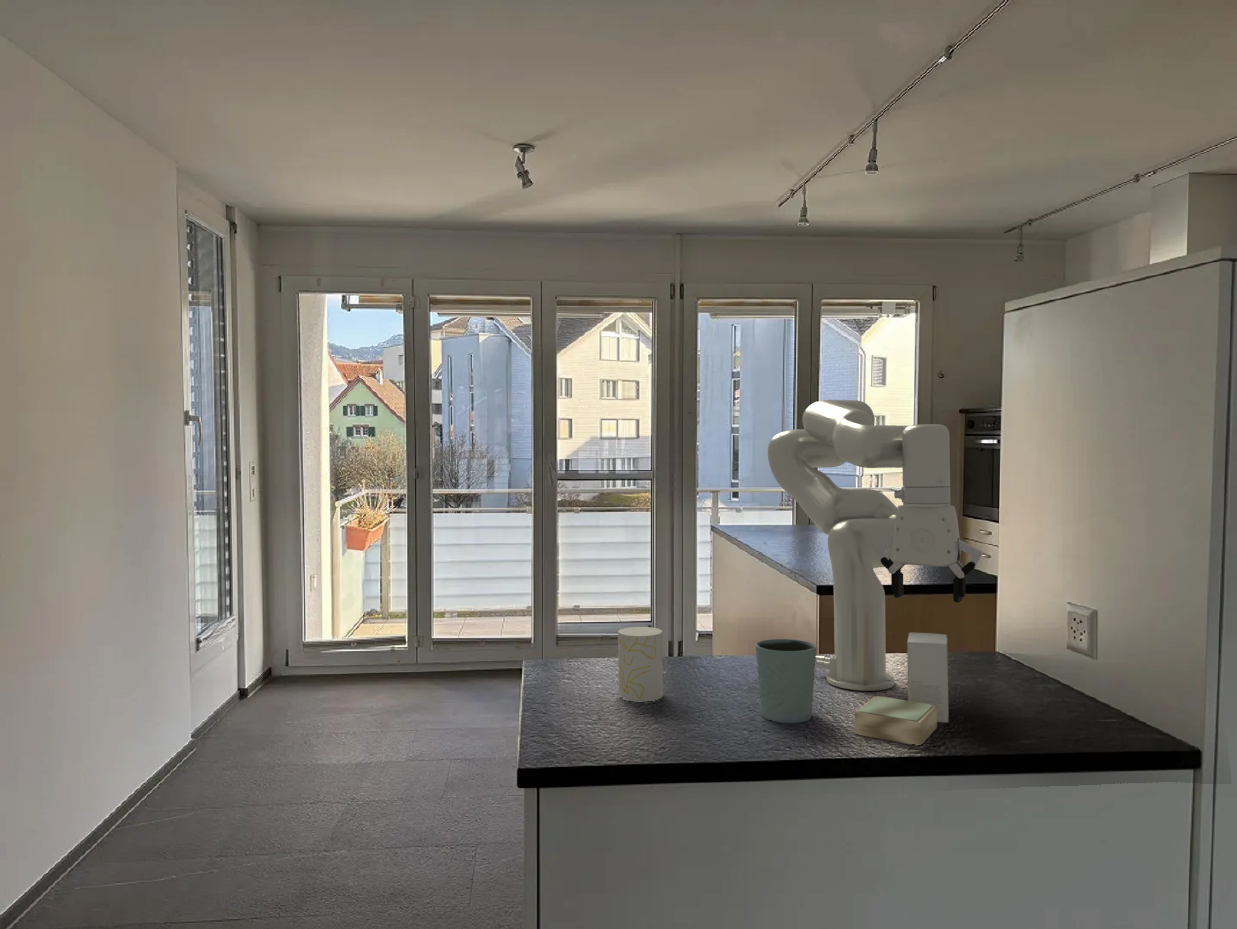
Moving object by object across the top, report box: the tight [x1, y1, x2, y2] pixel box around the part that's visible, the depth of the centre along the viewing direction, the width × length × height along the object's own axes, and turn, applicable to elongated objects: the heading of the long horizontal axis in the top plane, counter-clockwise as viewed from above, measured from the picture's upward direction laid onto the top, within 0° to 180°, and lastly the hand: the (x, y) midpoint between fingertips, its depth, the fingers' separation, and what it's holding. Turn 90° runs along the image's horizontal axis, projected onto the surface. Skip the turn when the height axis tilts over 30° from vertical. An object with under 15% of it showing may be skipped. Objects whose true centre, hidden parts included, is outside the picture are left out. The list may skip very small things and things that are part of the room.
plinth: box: [854, 695, 938, 746], centre depth 132 cm, size 10×10×4 cm
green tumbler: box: [755, 638, 817, 724], centre depth 141 cm, size 10×10×12 cm
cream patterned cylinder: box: [617, 626, 664, 702], centre depth 153 cm, size 8×8×12 cm
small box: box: [906, 631, 949, 723], centre depth 140 cm, size 8×6×13 cm
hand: (927, 598), depth 140 cm, fingers open, 9 cm apart
